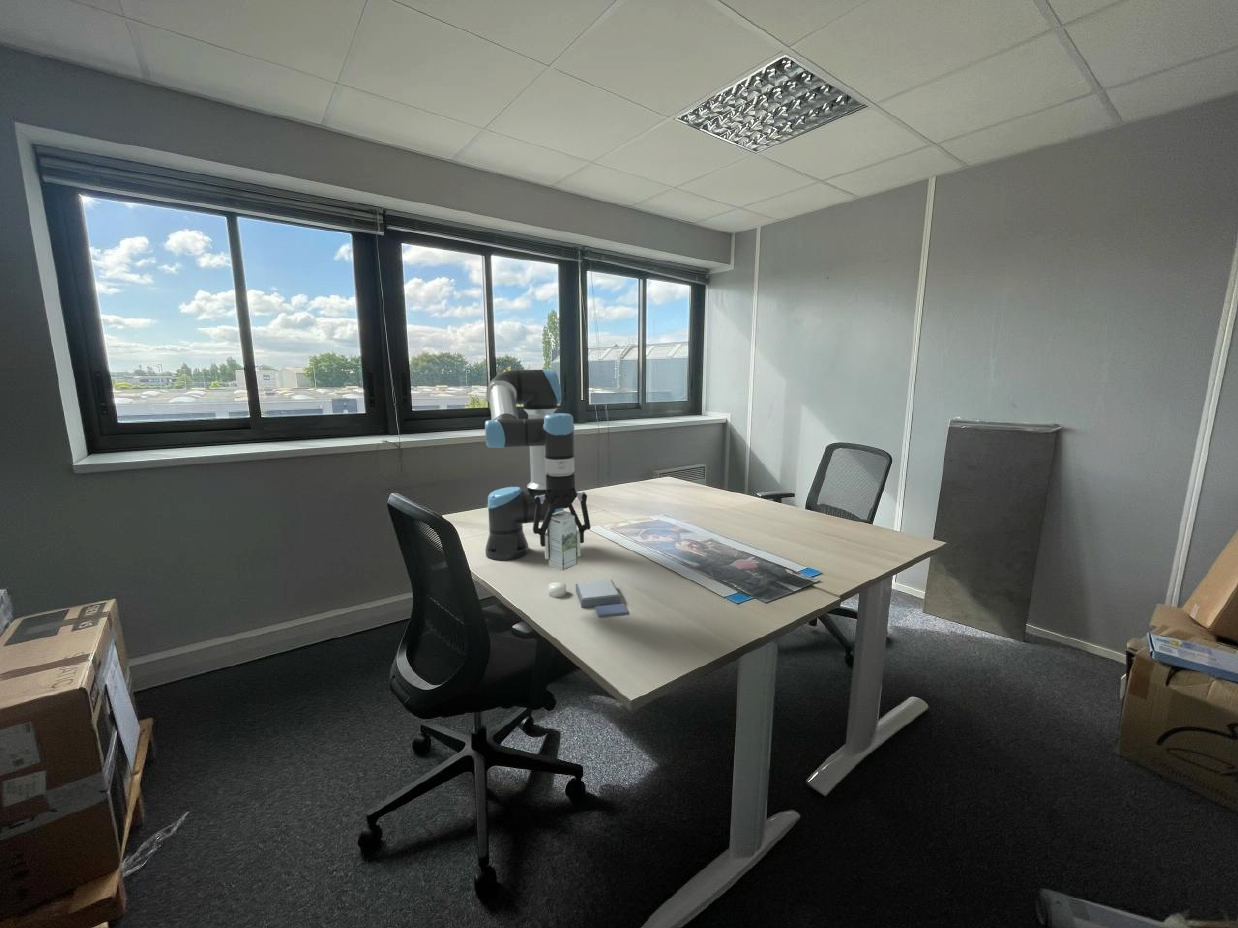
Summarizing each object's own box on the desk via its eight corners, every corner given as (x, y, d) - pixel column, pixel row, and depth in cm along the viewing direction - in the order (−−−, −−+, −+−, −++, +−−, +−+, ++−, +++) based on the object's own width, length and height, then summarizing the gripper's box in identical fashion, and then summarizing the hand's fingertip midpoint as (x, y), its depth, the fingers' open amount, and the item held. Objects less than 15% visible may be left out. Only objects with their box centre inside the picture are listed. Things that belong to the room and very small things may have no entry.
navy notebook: (595, 610, 132) (595, 606, 132) (623, 607, 134) (623, 603, 134) (598, 619, 127) (598, 615, 127) (628, 615, 129) (628, 611, 129)
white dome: (546, 591, 143) (546, 583, 142) (563, 588, 145) (563, 580, 144) (551, 598, 138) (551, 590, 138) (568, 595, 140) (568, 587, 140)
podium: (575, 590, 143) (575, 582, 143) (612, 586, 146) (612, 578, 145) (581, 607, 133) (581, 599, 132) (620, 603, 135) (620, 594, 135)
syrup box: (563, 559, 135) (561, 509, 132) (578, 564, 131) (576, 513, 129) (548, 566, 131) (545, 514, 128) (563, 571, 127) (560, 518, 124)
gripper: (520, 478, 120) (524, 564, 125) (601, 474, 125) (602, 557, 129) (519, 472, 128) (523, 554, 132) (596, 468, 132) (597, 547, 137)
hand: (562, 555), depth 131 cm, fingers closed on syrup box, 8 cm apart
